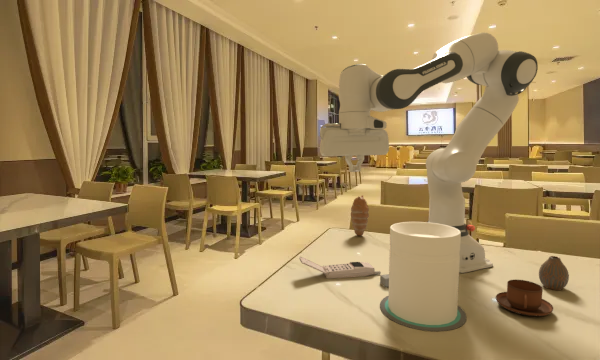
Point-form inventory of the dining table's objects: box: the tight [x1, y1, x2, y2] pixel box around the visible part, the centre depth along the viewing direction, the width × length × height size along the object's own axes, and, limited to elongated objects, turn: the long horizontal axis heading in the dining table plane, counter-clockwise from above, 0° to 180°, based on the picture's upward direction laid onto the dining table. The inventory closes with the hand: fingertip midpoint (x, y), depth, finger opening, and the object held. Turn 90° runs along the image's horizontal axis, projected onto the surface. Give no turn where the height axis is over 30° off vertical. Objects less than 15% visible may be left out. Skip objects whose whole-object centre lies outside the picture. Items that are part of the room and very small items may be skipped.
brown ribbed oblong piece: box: [350, 194, 370, 237], centre depth 156 cm, size 9×8×18 cm
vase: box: [538, 255, 570, 291], centre depth 100 cm, size 7×7×9 cm
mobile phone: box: [299, 256, 381, 280], centre depth 110 cm, size 6×6×25 cm
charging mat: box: [379, 273, 467, 332], centre depth 91 cm, size 20×28×2 cm
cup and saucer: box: [495, 279, 554, 317], centre depth 88 cm, size 12×12×6 cm
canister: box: [388, 221, 461, 325], centre depth 86 cm, size 16×16×20 cm
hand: (354, 171), depth 103 cm, fingers closed
